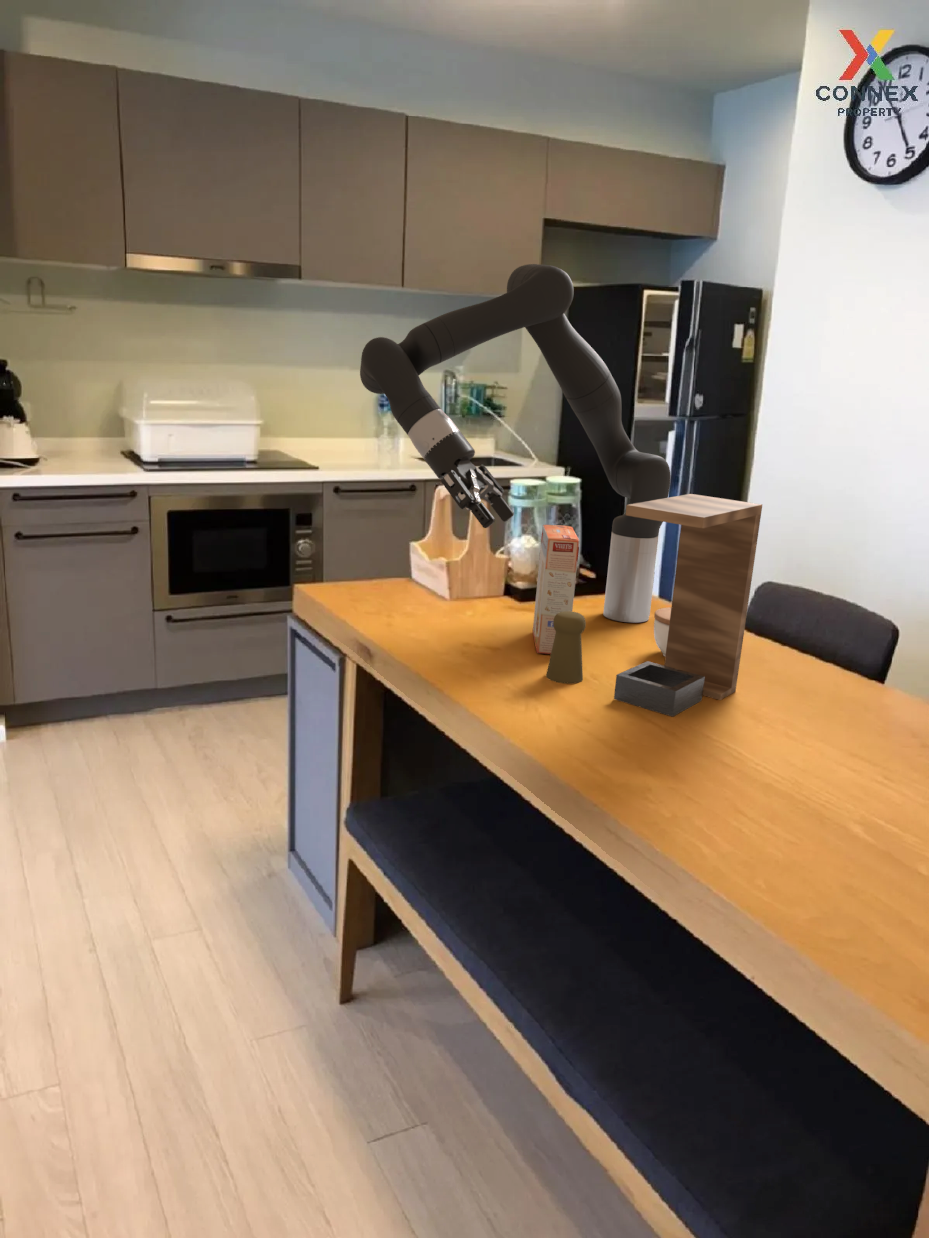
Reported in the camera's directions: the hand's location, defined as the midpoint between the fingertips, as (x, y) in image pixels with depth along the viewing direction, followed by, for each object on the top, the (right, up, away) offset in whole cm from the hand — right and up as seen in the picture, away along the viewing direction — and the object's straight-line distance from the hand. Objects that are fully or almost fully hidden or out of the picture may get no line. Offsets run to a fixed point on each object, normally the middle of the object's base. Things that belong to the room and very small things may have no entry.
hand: (500, 521), depth 159 cm
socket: (+24, -28, -8) cm, 38 cm away
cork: (+10, -26, 0) cm, 28 cm away
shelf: (+27, -28, -6) cm, 39 cm away
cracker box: (+10, -21, +18) cm, 29 cm away
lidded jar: (+33, -23, +16) cm, 43 cm away
